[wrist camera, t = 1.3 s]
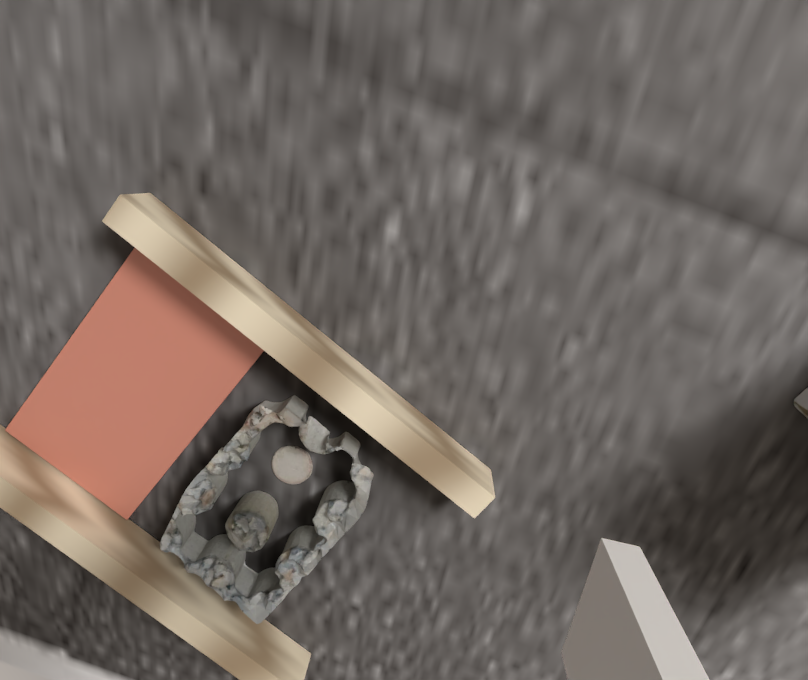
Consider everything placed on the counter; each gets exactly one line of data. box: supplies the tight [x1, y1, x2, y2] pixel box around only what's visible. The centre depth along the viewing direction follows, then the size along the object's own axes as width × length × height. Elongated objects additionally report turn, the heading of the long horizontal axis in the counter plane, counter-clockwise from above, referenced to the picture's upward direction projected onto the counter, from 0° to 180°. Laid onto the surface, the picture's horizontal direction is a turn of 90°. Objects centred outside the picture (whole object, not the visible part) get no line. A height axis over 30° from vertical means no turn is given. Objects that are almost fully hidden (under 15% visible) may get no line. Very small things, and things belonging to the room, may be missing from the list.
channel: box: [0, 193, 495, 680], centre depth 33 cm, size 22×17×3 cm
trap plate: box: [5, 248, 264, 520], centre depth 33 cm, size 8×14×1 cm, turn 140°
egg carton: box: [160, 395, 374, 624], centre depth 33 cm, size 11×8×4 cm
